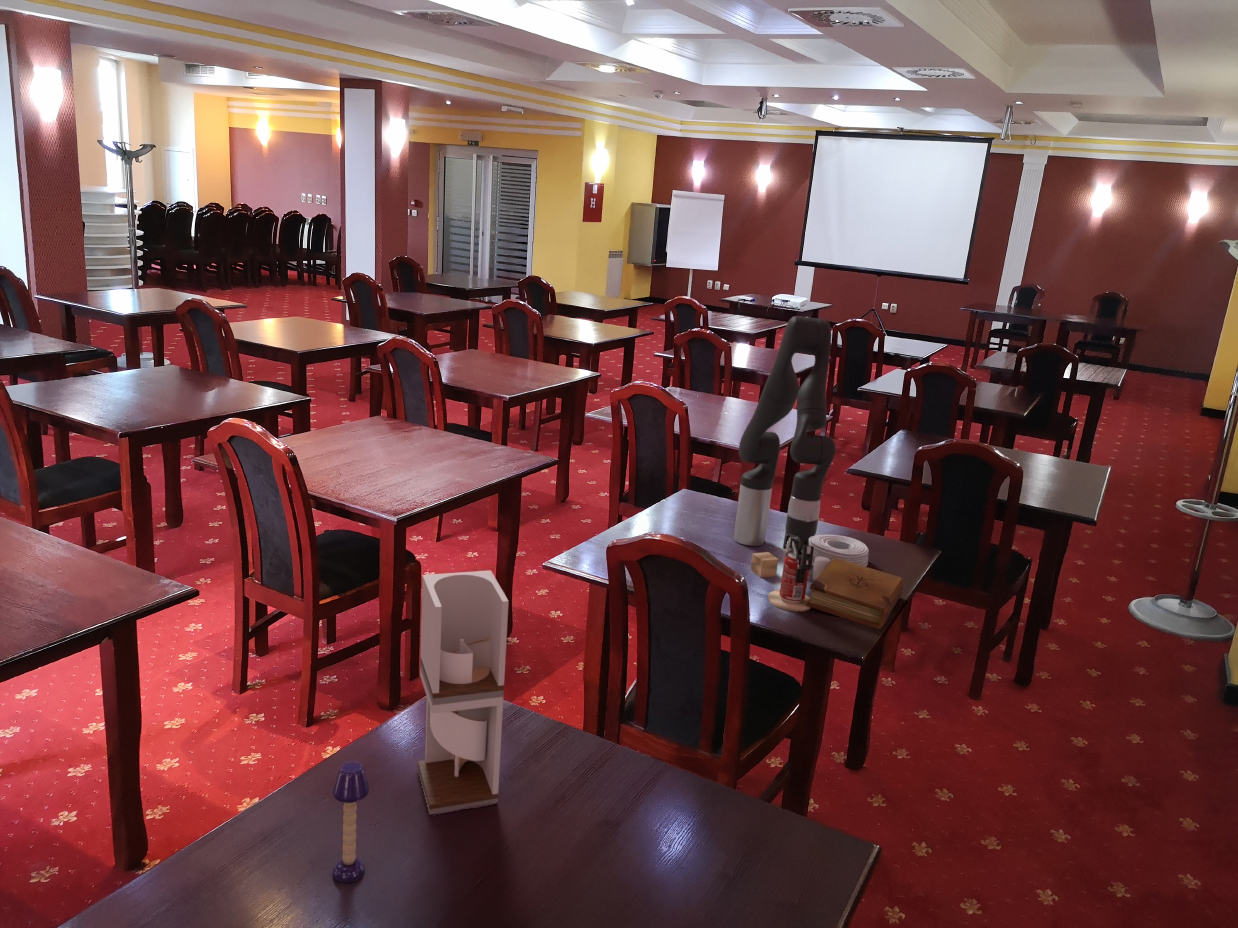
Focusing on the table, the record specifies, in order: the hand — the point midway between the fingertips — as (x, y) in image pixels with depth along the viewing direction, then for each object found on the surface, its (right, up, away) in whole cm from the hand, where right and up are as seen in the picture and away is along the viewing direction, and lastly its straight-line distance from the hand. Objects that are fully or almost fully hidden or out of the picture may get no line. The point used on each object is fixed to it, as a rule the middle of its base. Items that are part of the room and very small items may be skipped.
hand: (793, 575), depth 223 cm
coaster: (-1, -7, +2) cm, 7 cm away
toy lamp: (-81, -29, -98) cm, 131 cm away
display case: (-70, -24, -79) cm, 108 cm away
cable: (+18, 0, +33) cm, 37 cm away
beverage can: (0, -6, +1) cm, 7 cm away
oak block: (-5, -2, +19) cm, 19 cm away
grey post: (+10, -3, +18) cm, 21 cm away
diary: (+16, -7, +4) cm, 18 cm away
